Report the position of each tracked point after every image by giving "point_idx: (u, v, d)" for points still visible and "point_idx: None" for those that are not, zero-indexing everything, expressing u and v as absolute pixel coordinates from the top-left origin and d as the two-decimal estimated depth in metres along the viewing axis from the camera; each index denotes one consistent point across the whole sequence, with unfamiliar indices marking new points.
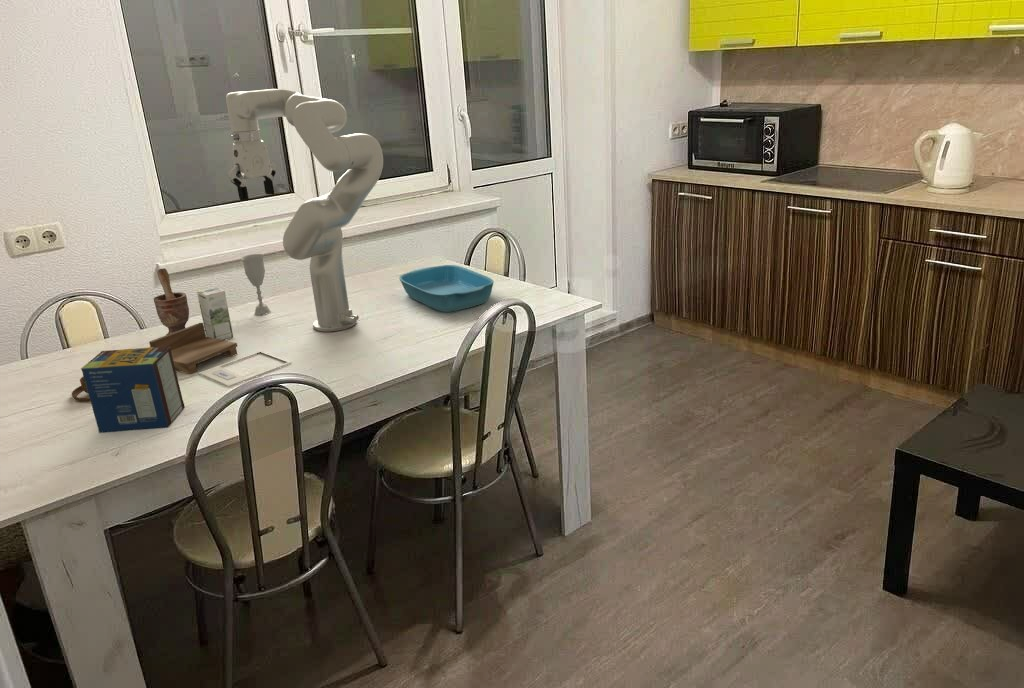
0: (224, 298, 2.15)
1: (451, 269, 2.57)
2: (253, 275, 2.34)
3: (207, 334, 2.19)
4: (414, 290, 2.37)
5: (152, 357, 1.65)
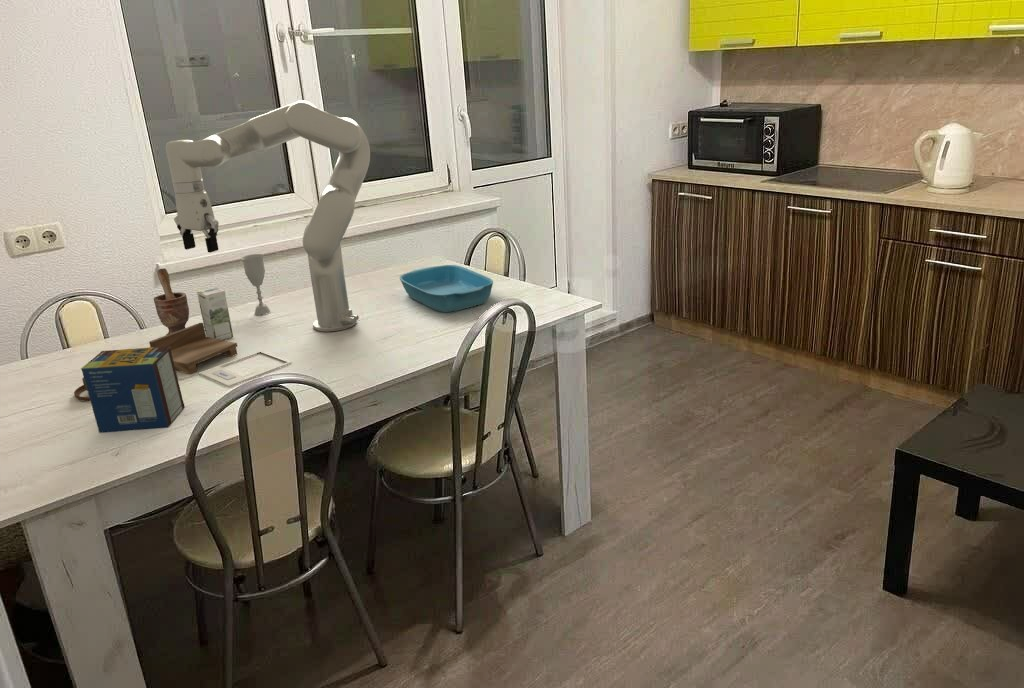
0: (224, 298, 2.15)
1: (452, 269, 2.57)
2: (253, 275, 2.34)
3: (207, 334, 2.19)
4: (413, 289, 2.37)
5: (152, 357, 1.65)
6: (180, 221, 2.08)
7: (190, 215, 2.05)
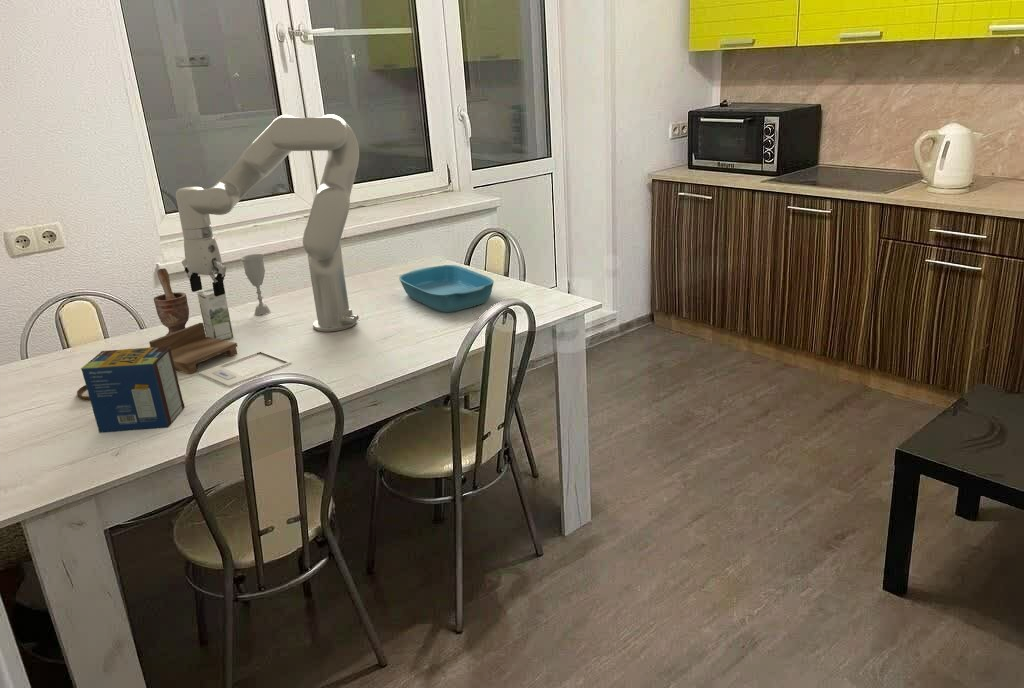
0: (224, 298, 2.15)
1: (451, 269, 2.57)
2: (253, 275, 2.34)
3: (207, 334, 2.19)
4: (414, 290, 2.37)
5: (152, 357, 1.65)
6: (188, 265, 2.12)
7: (198, 260, 2.09)
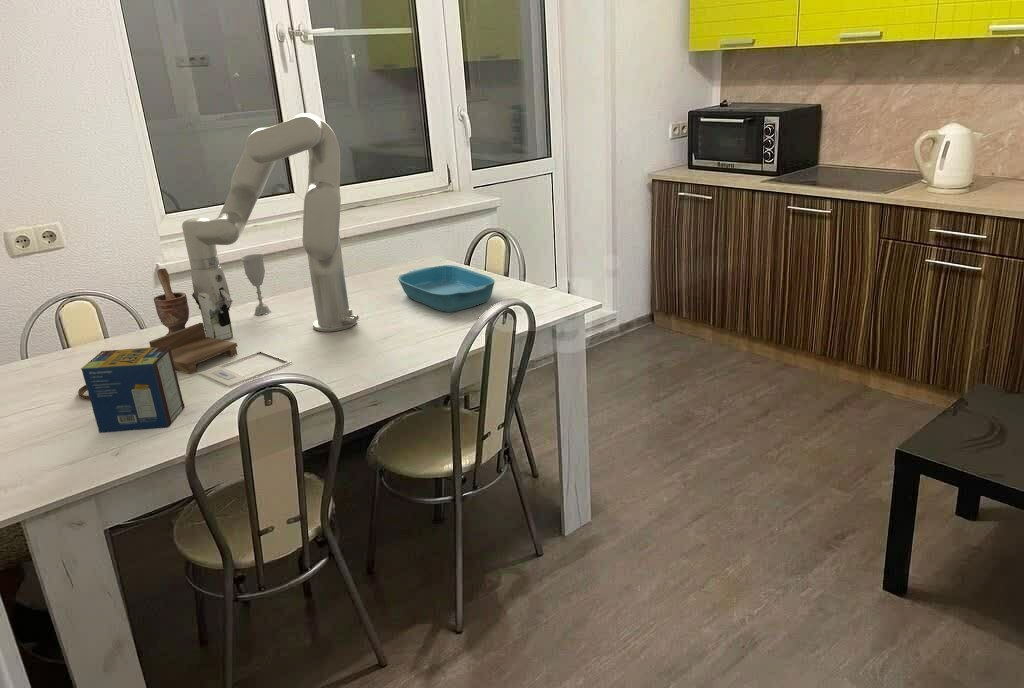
0: None
1: (449, 269, 2.57)
2: (253, 275, 2.34)
3: (207, 334, 2.19)
4: (415, 290, 2.37)
5: (152, 357, 1.65)
6: (196, 294, 2.16)
7: (206, 290, 2.12)
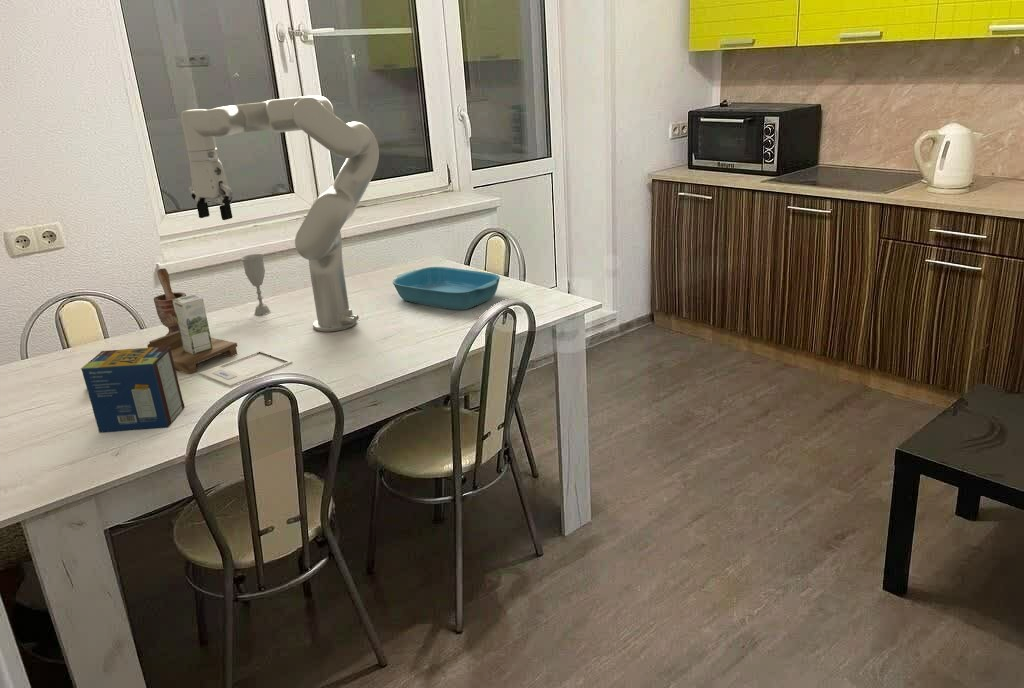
0: (202, 306, 1.99)
1: (434, 271, 2.56)
2: (253, 275, 2.34)
3: (184, 345, 2.02)
4: (422, 292, 2.34)
5: (152, 357, 1.65)
6: (195, 190, 2.13)
7: (205, 183, 2.09)
